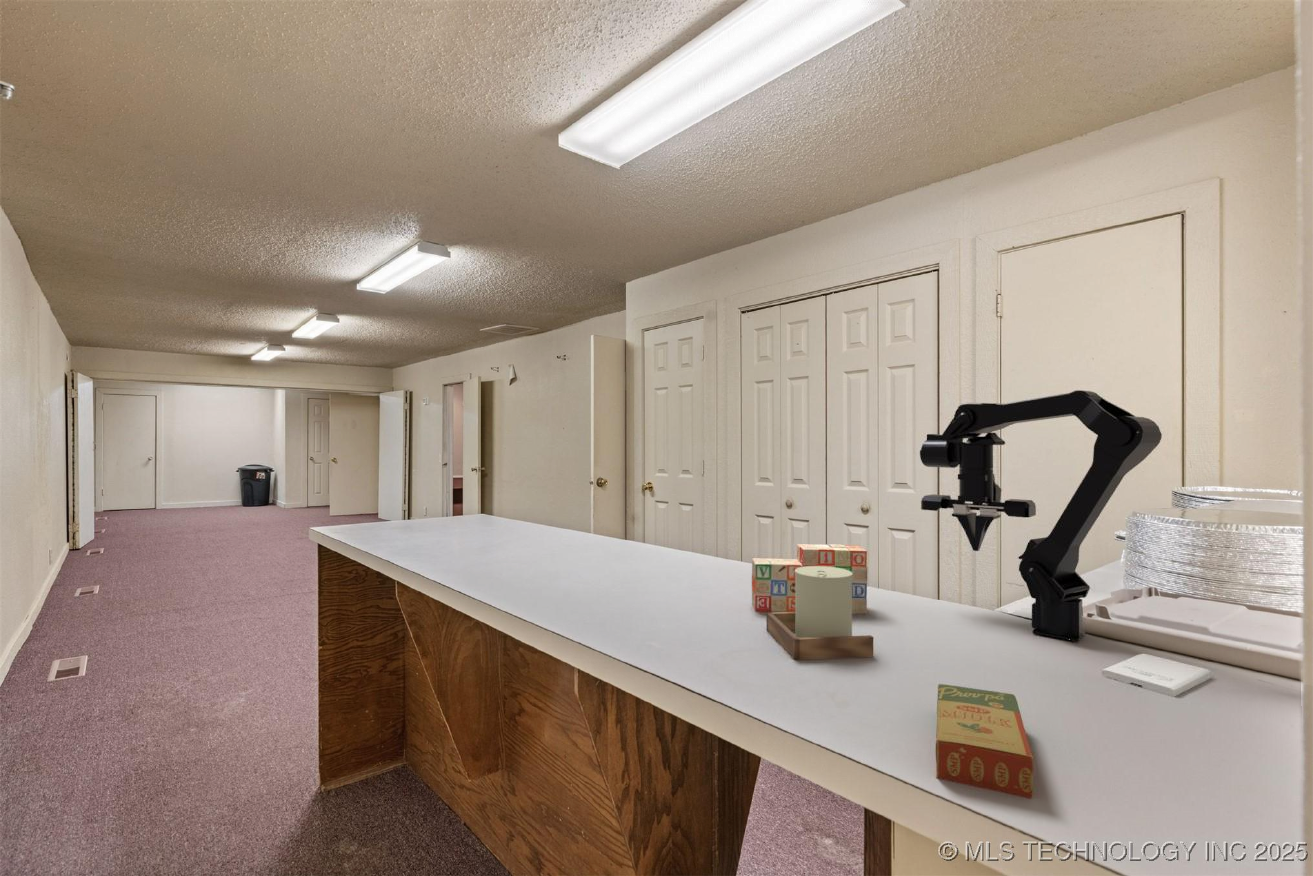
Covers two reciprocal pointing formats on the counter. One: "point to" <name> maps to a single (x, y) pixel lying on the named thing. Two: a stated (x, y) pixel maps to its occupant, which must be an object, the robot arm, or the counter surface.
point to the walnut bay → (815, 641)
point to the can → (823, 602)
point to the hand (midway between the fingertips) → (976, 550)
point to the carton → (982, 741)
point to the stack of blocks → (778, 575)
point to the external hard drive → (1158, 674)
